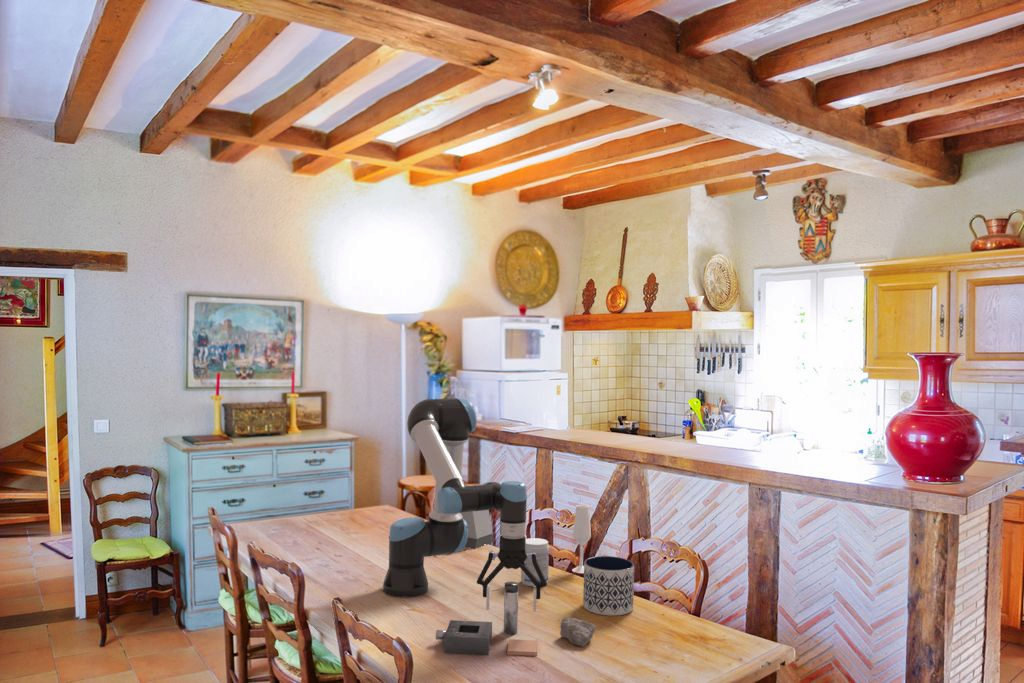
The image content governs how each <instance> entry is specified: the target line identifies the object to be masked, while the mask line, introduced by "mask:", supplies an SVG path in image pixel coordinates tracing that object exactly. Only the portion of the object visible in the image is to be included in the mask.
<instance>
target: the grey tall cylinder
mask: <svg viewBox="0 0 1024 683" xmlns="http://www.w3.org/2000/svg"><path fill="white" fill-rule="evenodd" d="M503 598H504V600H503V601H504V602H503V603H504V604H503V634H505V635H509V636H510V635H512V636H513V635H516V634H518V618H519V617H518V616H519V614H518V612H519V582H516V581H507V582H505V583H504V597H503Z"/></svg>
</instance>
